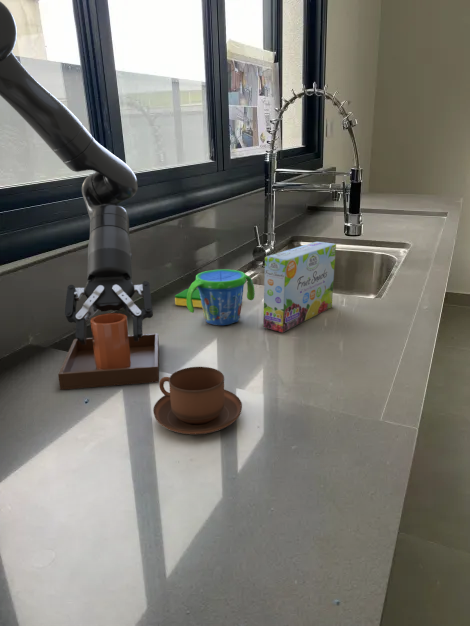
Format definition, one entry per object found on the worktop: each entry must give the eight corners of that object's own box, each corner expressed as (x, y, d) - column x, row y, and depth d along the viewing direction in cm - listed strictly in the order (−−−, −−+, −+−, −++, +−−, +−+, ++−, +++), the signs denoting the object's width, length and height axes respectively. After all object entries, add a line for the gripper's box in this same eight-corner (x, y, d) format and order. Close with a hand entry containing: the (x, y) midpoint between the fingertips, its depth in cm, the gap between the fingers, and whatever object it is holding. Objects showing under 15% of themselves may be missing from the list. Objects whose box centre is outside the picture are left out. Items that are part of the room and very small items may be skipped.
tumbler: (94, 374, 81) (88, 325, 78) (98, 360, 86) (93, 314, 84) (130, 371, 82) (125, 323, 79) (132, 357, 87) (127, 311, 85)
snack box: (285, 334, 98) (286, 259, 94) (262, 328, 102) (262, 256, 97) (334, 307, 114) (337, 242, 110) (312, 303, 118) (314, 239, 113)
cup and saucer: (142, 440, 63) (138, 397, 61) (167, 396, 74) (165, 358, 72) (235, 446, 62) (234, 401, 60) (246, 399, 73) (246, 361, 71)
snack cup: (197, 334, 99) (195, 285, 96) (179, 319, 108) (176, 274, 105) (265, 322, 105) (265, 275, 102) (243, 308, 114) (243, 265, 111)
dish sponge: (188, 297, 124) (187, 287, 123) (239, 302, 119) (239, 292, 119) (174, 305, 118) (174, 295, 117) (228, 311, 113) (228, 300, 112)
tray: (60, 389, 77) (57, 374, 76) (75, 352, 91) (74, 338, 90) (158, 382, 79) (157, 366, 78) (159, 346, 93) (158, 333, 92)
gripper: (63, 247, 84) (59, 334, 77) (148, 244, 86) (152, 328, 79) (72, 271, 91) (69, 353, 84) (151, 267, 93) (154, 347, 85)
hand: (109, 341), depth 81 cm, fingers open, 8 cm apart
